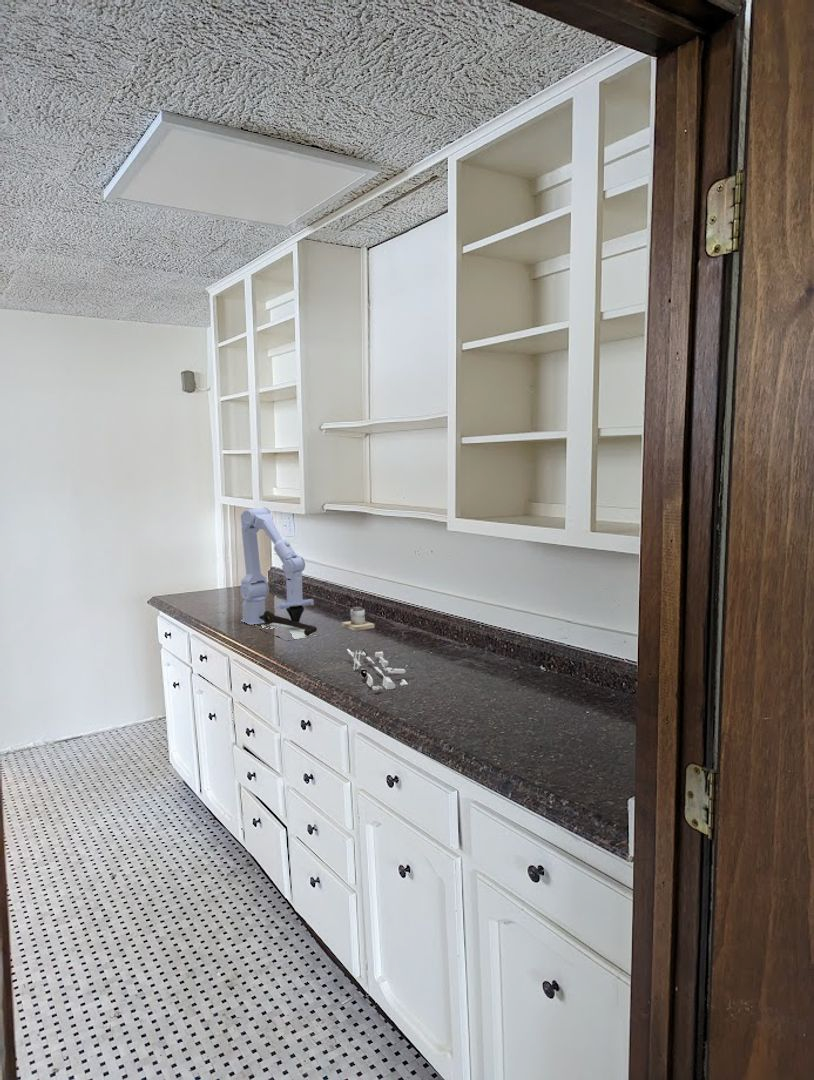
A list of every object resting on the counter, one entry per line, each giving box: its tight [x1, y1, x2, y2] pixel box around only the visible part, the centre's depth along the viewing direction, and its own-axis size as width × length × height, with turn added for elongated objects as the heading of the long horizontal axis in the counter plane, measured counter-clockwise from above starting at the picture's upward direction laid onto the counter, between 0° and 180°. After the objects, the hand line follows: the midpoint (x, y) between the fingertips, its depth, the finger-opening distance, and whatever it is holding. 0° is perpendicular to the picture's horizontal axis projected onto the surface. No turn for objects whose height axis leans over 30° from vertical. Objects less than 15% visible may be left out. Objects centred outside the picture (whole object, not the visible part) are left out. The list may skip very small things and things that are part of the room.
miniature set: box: [346, 648, 409, 691], centre depth 203 cm, size 6×35×12 cm
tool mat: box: [260, 623, 319, 640], centre depth 256 cm, size 28×12×1 cm, turn 37°
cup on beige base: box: [341, 606, 375, 632], centre depth 260 cm, size 10×8×7 cm
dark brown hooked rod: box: [259, 610, 318, 636], centre depth 257 cm, size 5×5×30 cm
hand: (295, 626), depth 259 cm, fingers closed
